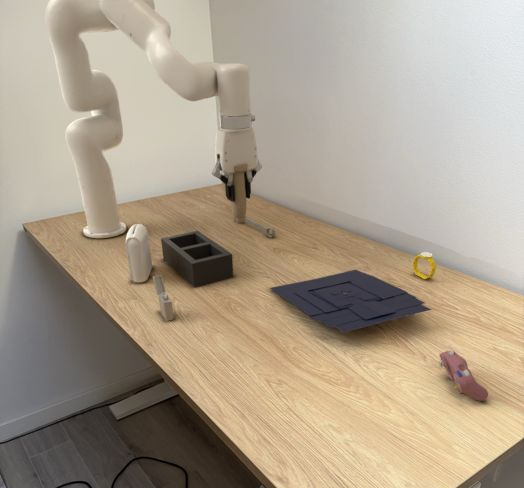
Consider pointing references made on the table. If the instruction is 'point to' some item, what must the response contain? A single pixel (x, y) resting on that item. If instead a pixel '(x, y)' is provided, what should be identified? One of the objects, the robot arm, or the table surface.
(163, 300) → the lighter
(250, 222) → the combination wrench
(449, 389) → the table surface
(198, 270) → the holder
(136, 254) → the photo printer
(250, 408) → the table surface
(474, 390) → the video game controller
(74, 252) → the table surface
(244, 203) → the handle
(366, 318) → the navy flat block
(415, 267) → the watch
